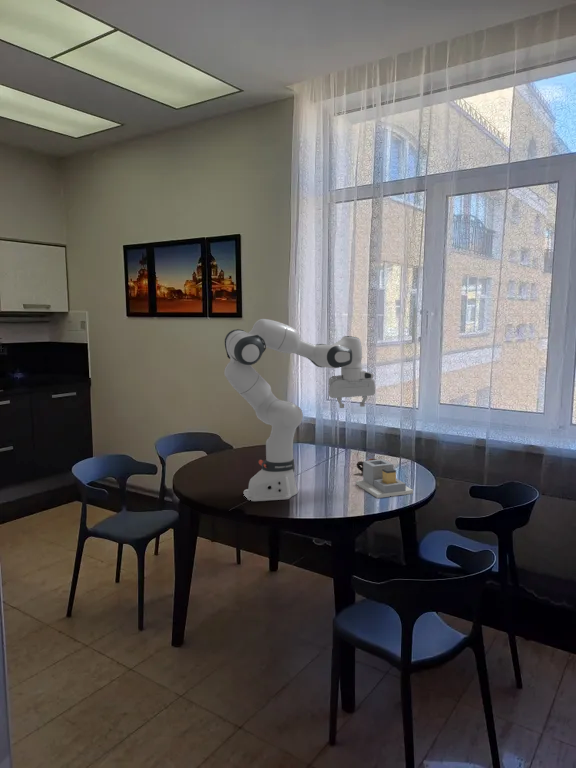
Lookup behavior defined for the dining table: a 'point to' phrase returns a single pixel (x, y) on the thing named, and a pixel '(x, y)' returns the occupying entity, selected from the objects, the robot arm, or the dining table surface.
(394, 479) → the plug
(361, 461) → the pottery mug
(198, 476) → the dining table surface
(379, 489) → the square socket stand
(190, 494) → the dining table surface
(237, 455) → the dining table surface
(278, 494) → the robot arm
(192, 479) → the dining table surface
